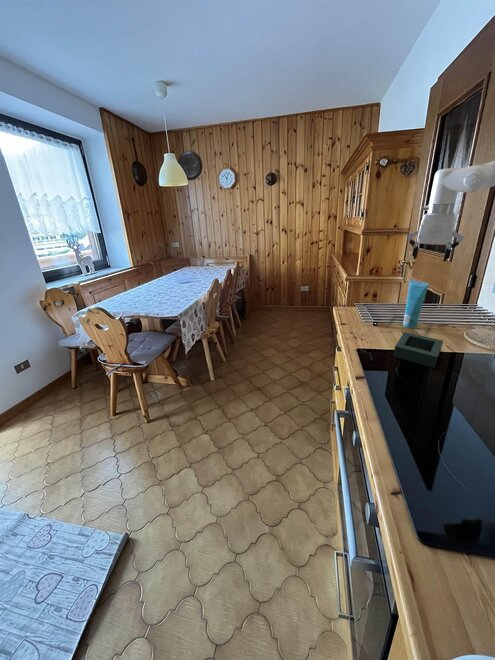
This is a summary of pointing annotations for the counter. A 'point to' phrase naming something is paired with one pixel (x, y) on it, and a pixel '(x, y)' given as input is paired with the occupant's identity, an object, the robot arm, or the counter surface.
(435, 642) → the counter surface
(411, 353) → the dark green square tray
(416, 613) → the counter surface
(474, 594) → the counter surface
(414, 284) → the tube
